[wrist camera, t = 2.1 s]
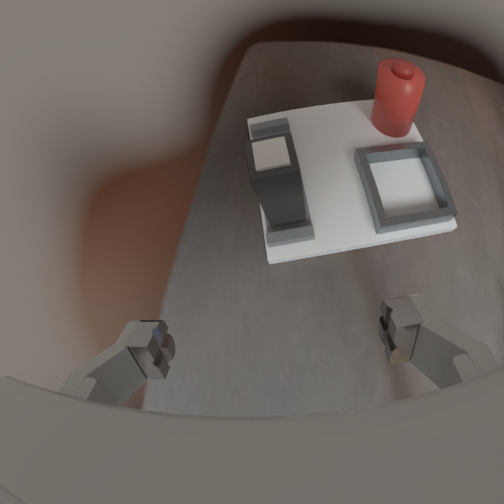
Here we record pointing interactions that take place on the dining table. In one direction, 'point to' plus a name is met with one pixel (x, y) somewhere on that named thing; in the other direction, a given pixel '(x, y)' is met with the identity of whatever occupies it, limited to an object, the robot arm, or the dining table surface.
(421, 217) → the socket
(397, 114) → the lockout cap
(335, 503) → the robot arm
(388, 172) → the panel
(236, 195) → the dining table surface
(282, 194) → the switch knob
